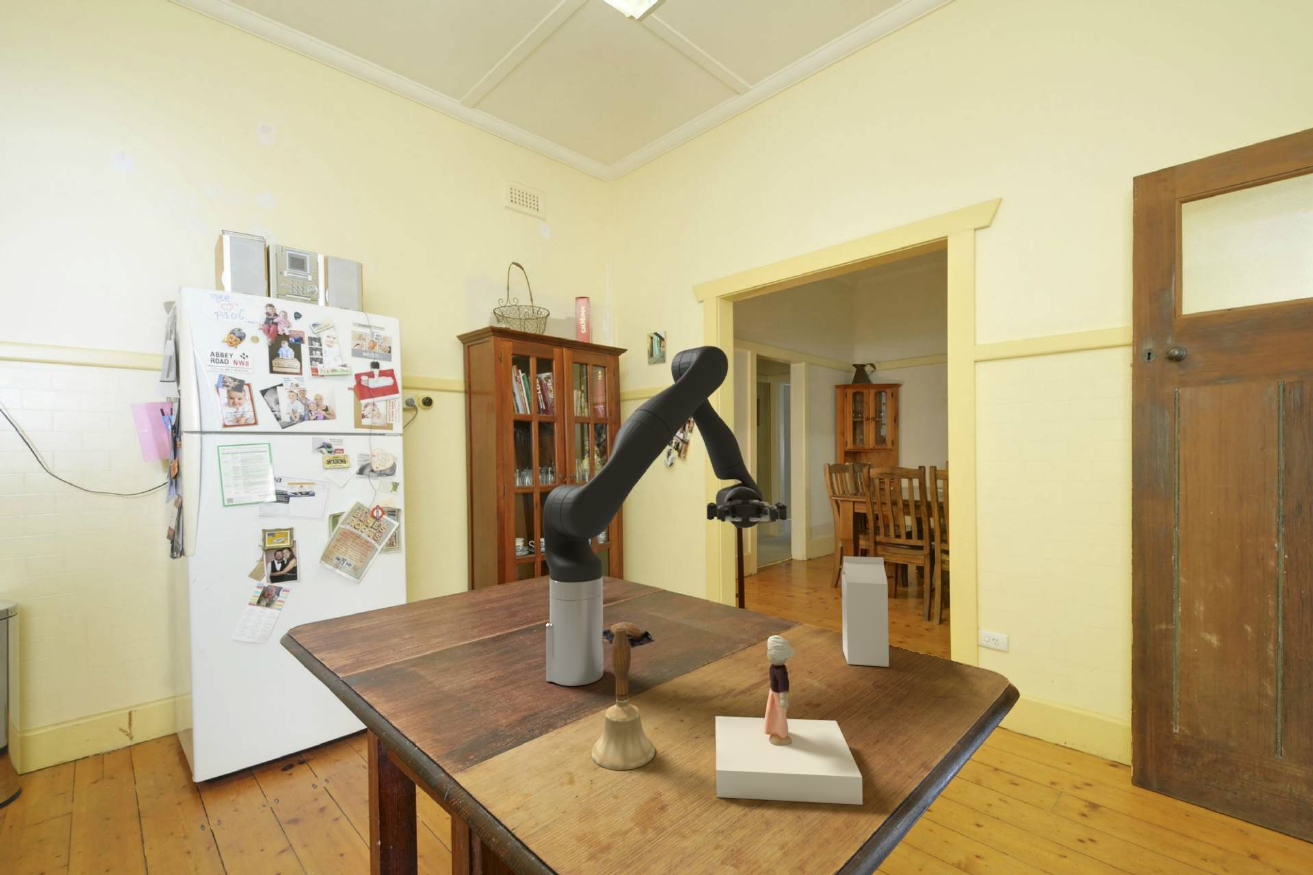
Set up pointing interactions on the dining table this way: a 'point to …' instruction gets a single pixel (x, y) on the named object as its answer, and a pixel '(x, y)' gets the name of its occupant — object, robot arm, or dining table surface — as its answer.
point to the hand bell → (622, 719)
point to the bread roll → (628, 634)
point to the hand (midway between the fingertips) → (748, 515)
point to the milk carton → (865, 611)
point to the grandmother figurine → (778, 691)
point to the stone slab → (785, 762)
